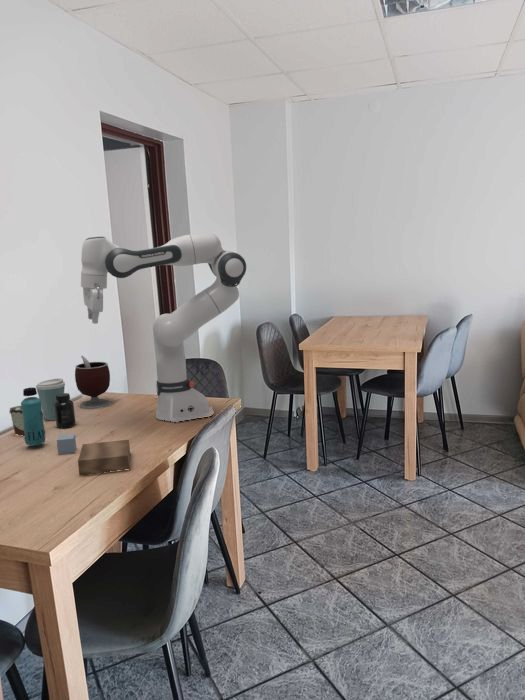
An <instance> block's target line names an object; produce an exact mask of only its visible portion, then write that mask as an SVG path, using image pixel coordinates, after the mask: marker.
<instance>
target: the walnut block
mask: <svg viewBox="0 0 525 700" xmlns="http://www.w3.org/2000/svg"><path fill="white" fill-rule="evenodd" d="M129 463H131V448H130V439H124V440H123V439H122V440H114V441H113V440H111V441H103V442H93V443H92V442H91V443H83V444H82V446H81V449H80V453H79V455H78V461H77V465H78V474H79V475H84V476H89V475H88V474H93V475H98V474H97V473H102V474H105V473H104V472H110V471H117V470H125V469H129V470H130V466H129Z"/></svg>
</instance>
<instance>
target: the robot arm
mask: <svg viewBox="0 0 525 700" xmlns="http://www.w3.org/2000/svg"><path fill="white" fill-rule="evenodd" d="M80 259H81V267H82V268H81V272H80V287H81V288H82V291H83V303H84V305H85V306H86V307H87V315H88V316H87V319H88V320H91V321H92V322H91V323H92V324H95V325H96V324H98V323H99V316H100V313H102V312H103V311H104V290H105V289H107V287H108V274H110V275H111V276H112V277H115V278H117V279H125V278H128V277H130V276H131V275H133V274H134V273H136V272H137V271H139V270H142V269H143V270H144V269H147V268H149V269H150V268H153V267H158V266H159V267H160V266H176V267H184V266H185V267H187V266H193V265H198V264H208V266H209V269H210V271H211V273H212V274H213V275H214V276H215V277H216V279H215V280H214V281H213V283H212V284H211V285H210V286H208V287H206V288H204V289H203V290H201V291H199V292H198V293H196V294H195V295H193V296H192V297H191V298H189V299H188V300H186V301H185V302H184V303H182V304H181V305H180V306H179V307H177V308H176V309H175V310H174V311H172V312H171V313H163V314H160V315H158V317H156V318H155V320H154V322H153V325H152V331H153V341H154V342H153V343H154V354H155V362H156V364H155V365H156V376H157V377H156V378H157V380H156V384H155V385H156V395H157V408H156V412H155V413H156V414H155V418H156V419H158V420H160V421H164V420H165V422H170V421H171V422H170V423H174V422H176V423H180V422H179V421H183V422H185V421H184V420H189V421H191V420H190V419H195V418H199V417H203V416H208V415H212V414H213V413H214V414H215V410H214V411H213V409H214V408H213V407H212V406H211V407H212V408H213V409H212V408H211V407H209V406H210V405H209V402H208V400H207V397H206V396H205V395H204V394H203V393H201V392H200V391H198V390H197V389H195V388H194V387H195V382H194V381H193V380H192V379H191V378H187V377H188V376H187V375H188V374H187V363H186V354H185V345H184V342H185V341H186V340H187V339H189V338H190V337H191V336H193V334H195V333H196V332H197V331H198V330H199V329H201V327H203V326H205V325H206V324H207V323H209V322H210V321H212V320H213V319H215V318H217V317H218V316H220V315H221V314H223V312H226V311H227V310H228V309H229V308H231V306H232V305H234V304H235V303H236V302H237V301H238V300H239V297H240V291H239V288H238V287H239V285H240V283H241V281H242V279H243V278H244V276H245V275H246V272H247V262H246V260H245V258H244V257H243V256H242V255H241V254H239V253H237V252H235V251H231V250H225V249H223V247H222V243H221V240H220V239H219V237H218V236H217V235H216V234H214V233H206V232H205V233H202V232H201V233H191V234H184V235H179V236H177V237H174V238H172V239H170V240H169V241H168V242H166V243H165V244H163V245H160V246H157V247H151V248H147V249H140V250H130V249H127V248H124V247H121V246H120V245H117V244H115V243H114V242H112V241H111V240H109V239H107V237H105V236H91V237H88V238H86V239H85V240H84V241H83V244H82V248H81V258H80ZM209 412H213V413H209Z"/></svg>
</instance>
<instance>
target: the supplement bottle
mask: <svg viewBox="0 0 525 700" xmlns="http://www.w3.org/2000/svg"><path fill="white" fill-rule="evenodd" d="M56 401H57V402H56V403H55V404H54V410H55V419H56V420H55V424H56V428H58V429H68V428H72V427H74V426H75V425H76V415H75V408H74V407H75V406H74V404H75V403H74V402H73V401H72V400H71V396H70V393H68V392H64V393H62V394H58V395H56Z"/></svg>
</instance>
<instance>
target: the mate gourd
mask: <svg viewBox="0 0 525 700" xmlns="http://www.w3.org/2000/svg"><path fill="white" fill-rule="evenodd" d="M80 357H81V359H82V361H83V362H82V363H79V364H76V365H75V371H74V380H75V383H76V384H75V385H76V387H77V388H76V389H77V390H78V391H79V392H80V393H81V395H83V396H87V397H90V399H89V400H86V401H85V400H84V401H82V402H81V403H80V404H79V407H80V408H81V409H84V408H85V409H84V410H94V408H96V409H101V407H102V408H105V407H108V406H110V404H111V400H109V399H104V398H103V399H102V398H99V396H101V395H102V394H104V393H106V392H107V391H108V389H109V387H110V384H111V374H110V373H111V372H110V367H109V365H108V362H105V361H89V360H88V359H87V358H86V357H85V356H84V355H81V356H80Z"/></svg>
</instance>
